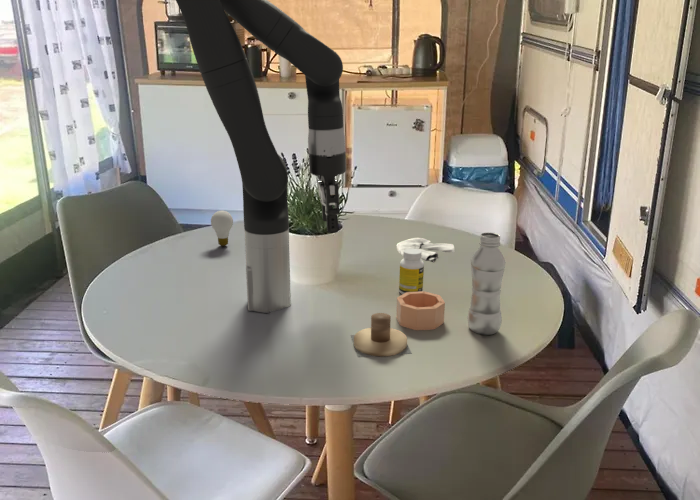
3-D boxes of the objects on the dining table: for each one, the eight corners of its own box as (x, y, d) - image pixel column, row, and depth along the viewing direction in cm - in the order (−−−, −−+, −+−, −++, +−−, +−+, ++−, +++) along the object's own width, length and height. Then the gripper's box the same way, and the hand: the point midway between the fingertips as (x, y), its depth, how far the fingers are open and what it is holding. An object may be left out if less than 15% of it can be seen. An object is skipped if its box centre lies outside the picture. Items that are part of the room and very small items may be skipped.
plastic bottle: (493, 341, 131) (501, 242, 124) (461, 333, 134) (467, 236, 128) (505, 329, 136) (513, 233, 129) (473, 321, 139) (480, 228, 133)
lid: (358, 358, 123) (358, 329, 121) (350, 334, 132) (350, 307, 130) (412, 354, 124) (413, 326, 122) (400, 331, 134) (401, 304, 132)
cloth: (412, 237, 195) (412, 229, 195) (482, 252, 183) (482, 243, 182) (372, 256, 180) (372, 247, 179) (446, 273, 168) (446, 264, 167)
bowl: (403, 333, 134) (403, 310, 132) (393, 315, 142) (394, 292, 141) (447, 330, 135) (448, 307, 133) (435, 312, 143) (436, 290, 142)
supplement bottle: (421, 297, 151) (423, 255, 148) (397, 295, 152) (398, 254, 149) (423, 288, 156) (425, 248, 153) (400, 286, 157) (401, 246, 154)
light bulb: (232, 250, 182) (230, 213, 179) (210, 249, 182) (208, 213, 179) (236, 243, 188) (234, 208, 185) (214, 243, 188) (212, 207, 185)
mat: (357, 359, 123) (357, 356, 123) (350, 338, 132) (350, 335, 132) (411, 356, 125) (411, 353, 125) (401, 334, 133) (401, 332, 133)
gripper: (305, 145, 144) (309, 218, 150) (311, 157, 131) (315, 237, 136) (340, 143, 145) (343, 216, 151) (350, 155, 132) (352, 235, 137)
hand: (330, 226), depth 143 cm, fingers open, 8 cm apart
